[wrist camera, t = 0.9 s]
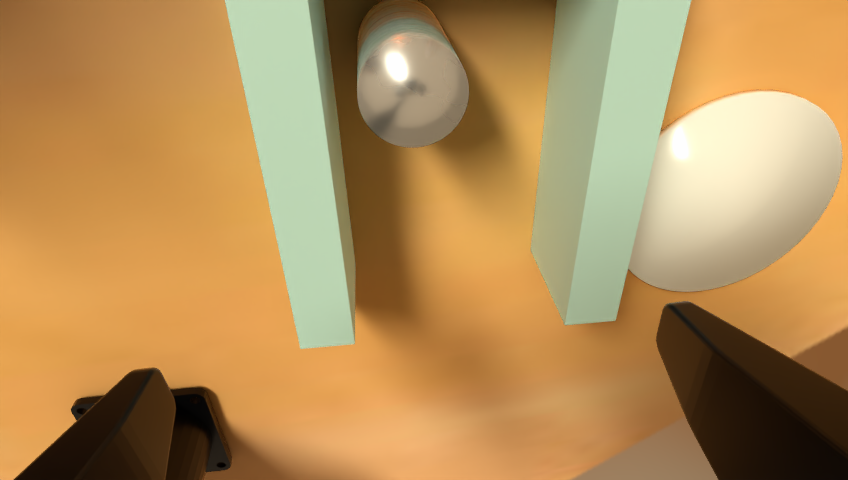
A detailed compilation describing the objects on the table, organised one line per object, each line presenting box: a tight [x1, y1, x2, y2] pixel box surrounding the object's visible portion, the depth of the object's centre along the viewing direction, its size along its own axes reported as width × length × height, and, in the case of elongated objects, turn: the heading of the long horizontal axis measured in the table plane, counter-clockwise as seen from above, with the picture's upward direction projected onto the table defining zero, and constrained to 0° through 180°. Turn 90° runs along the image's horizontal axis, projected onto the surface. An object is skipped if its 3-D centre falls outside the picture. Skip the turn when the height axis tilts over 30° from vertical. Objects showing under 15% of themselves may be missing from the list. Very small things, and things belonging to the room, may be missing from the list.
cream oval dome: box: [628, 90, 842, 292], centre depth 24 cm, size 10×10×1 cm
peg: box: [357, 0, 469, 147], centre depth 17 cm, size 3×3×6 cm
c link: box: [225, 0, 691, 349], centre depth 18 cm, size 15×12×5 cm
